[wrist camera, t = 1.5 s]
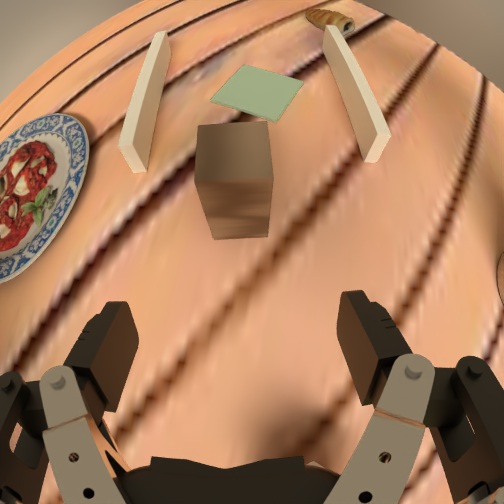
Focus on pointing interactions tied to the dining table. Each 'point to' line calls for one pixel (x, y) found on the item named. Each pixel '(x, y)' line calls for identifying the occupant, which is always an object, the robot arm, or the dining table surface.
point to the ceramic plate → (38, 186)
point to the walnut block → (235, 178)
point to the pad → (258, 92)
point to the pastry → (330, 20)
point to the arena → (341, 64)
